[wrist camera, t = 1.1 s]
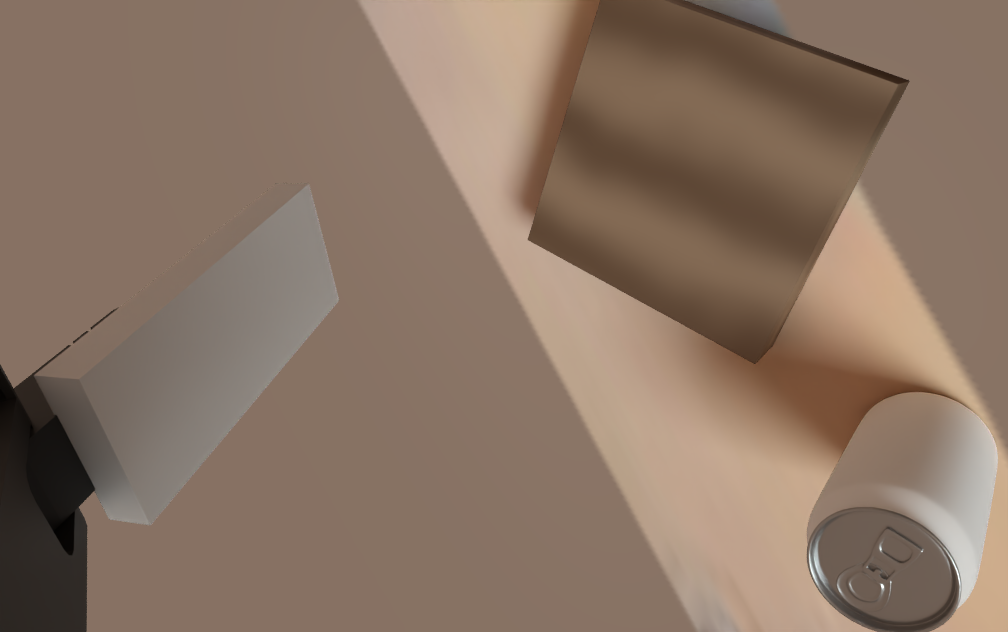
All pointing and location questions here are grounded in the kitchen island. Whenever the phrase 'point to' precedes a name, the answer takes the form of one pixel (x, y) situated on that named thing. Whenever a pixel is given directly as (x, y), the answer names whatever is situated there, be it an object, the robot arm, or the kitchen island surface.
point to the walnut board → (707, 164)
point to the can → (905, 514)
